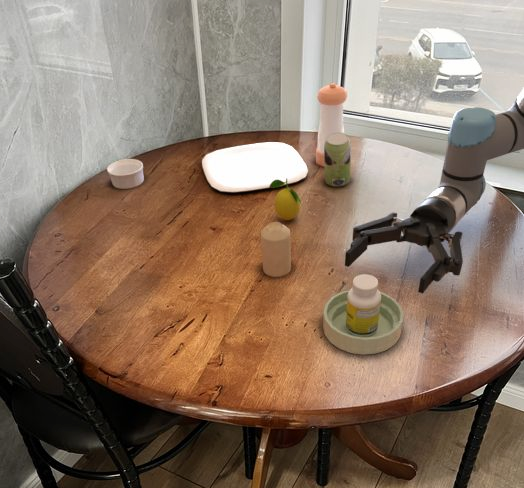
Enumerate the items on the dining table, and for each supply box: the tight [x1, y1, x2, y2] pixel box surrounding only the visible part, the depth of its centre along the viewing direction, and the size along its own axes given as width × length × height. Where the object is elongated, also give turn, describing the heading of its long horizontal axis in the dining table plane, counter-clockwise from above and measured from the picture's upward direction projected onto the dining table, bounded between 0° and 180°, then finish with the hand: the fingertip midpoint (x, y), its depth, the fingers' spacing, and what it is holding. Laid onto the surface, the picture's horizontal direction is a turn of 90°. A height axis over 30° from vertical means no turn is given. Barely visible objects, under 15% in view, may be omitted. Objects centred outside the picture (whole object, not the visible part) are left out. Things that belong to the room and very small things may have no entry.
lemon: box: [268, 178, 302, 221], centre depth 116 cm, size 7×6×10 cm
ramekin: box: [106, 158, 145, 190], centre depth 135 cm, size 9×9×4 cm
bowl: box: [322, 289, 405, 355], centre depth 91 cm, size 13×13×4 cm
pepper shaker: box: [315, 82, 348, 168], centre depth 133 cm, size 7×7×19 cm
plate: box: [201, 141, 309, 194], centre depth 138 cm, size 25×25×2 cm
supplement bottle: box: [346, 273, 381, 337], centre depth 89 cm, size 5×5×10 cm
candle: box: [260, 221, 292, 278], centre depth 103 cm, size 6×6×10 cm
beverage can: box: [324, 132, 352, 188], centre depth 126 cm, size 6×7×12 cm
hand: (382, 272), depth 89 cm, fingers open, 13 cm apart
